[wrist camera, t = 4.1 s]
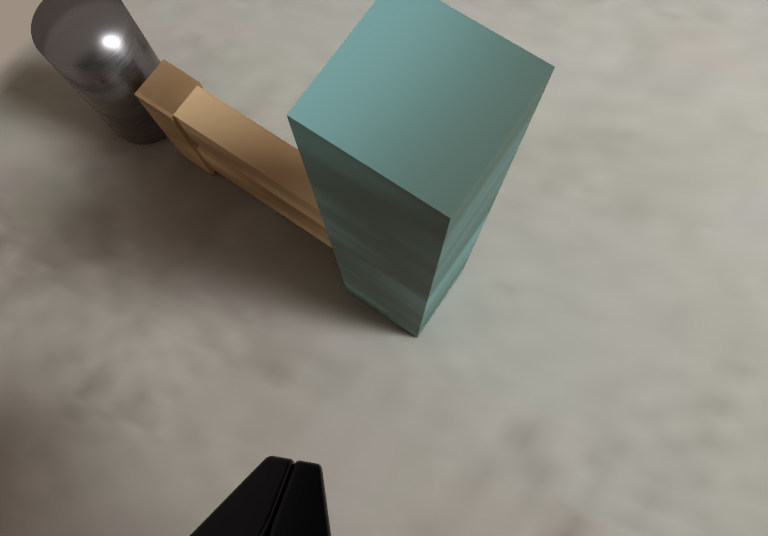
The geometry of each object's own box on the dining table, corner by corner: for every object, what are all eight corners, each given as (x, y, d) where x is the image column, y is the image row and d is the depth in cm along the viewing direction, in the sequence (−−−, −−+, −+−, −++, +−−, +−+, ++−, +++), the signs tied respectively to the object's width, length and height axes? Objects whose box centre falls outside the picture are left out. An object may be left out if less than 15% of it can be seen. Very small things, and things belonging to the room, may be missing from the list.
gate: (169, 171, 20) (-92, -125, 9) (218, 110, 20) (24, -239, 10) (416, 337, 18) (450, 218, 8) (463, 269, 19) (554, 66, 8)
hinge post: (165, 153, 20) (101, 77, 16) (96, 130, 20) (14, 49, 16) (195, 88, 20) (141, -3, 16) (127, 66, 21) (57, -29, 16)
